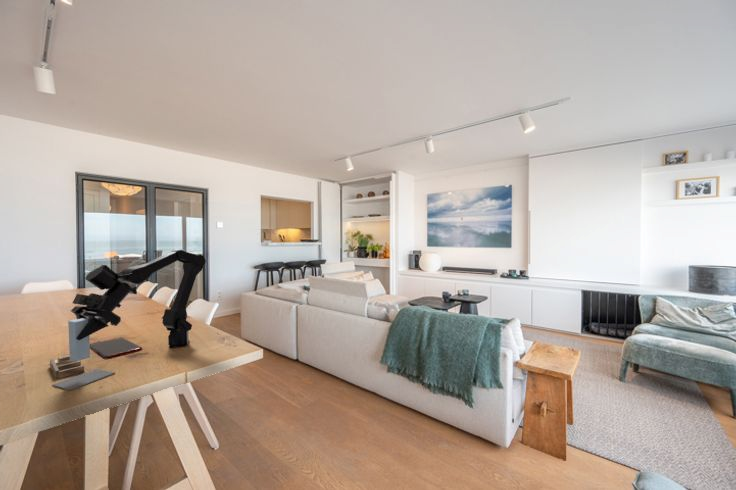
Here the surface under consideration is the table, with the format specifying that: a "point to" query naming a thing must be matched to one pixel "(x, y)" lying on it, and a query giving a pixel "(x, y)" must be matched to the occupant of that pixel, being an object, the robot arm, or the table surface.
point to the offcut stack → (64, 360)
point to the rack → (66, 368)
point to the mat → (83, 379)
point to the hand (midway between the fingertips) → (73, 338)
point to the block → (78, 347)
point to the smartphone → (114, 347)
